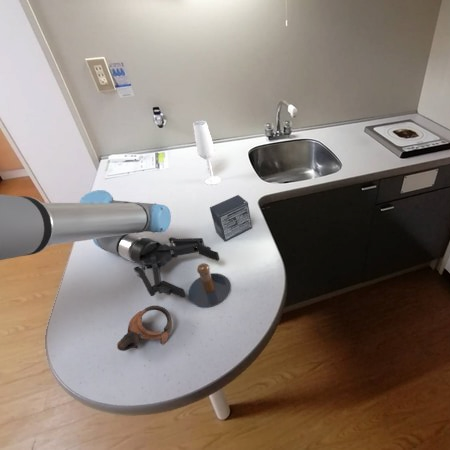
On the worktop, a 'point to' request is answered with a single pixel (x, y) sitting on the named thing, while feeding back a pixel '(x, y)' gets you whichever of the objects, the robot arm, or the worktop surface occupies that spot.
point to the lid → (209, 288)
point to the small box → (231, 217)
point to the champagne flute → (205, 148)
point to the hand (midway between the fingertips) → (201, 274)
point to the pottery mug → (144, 330)
